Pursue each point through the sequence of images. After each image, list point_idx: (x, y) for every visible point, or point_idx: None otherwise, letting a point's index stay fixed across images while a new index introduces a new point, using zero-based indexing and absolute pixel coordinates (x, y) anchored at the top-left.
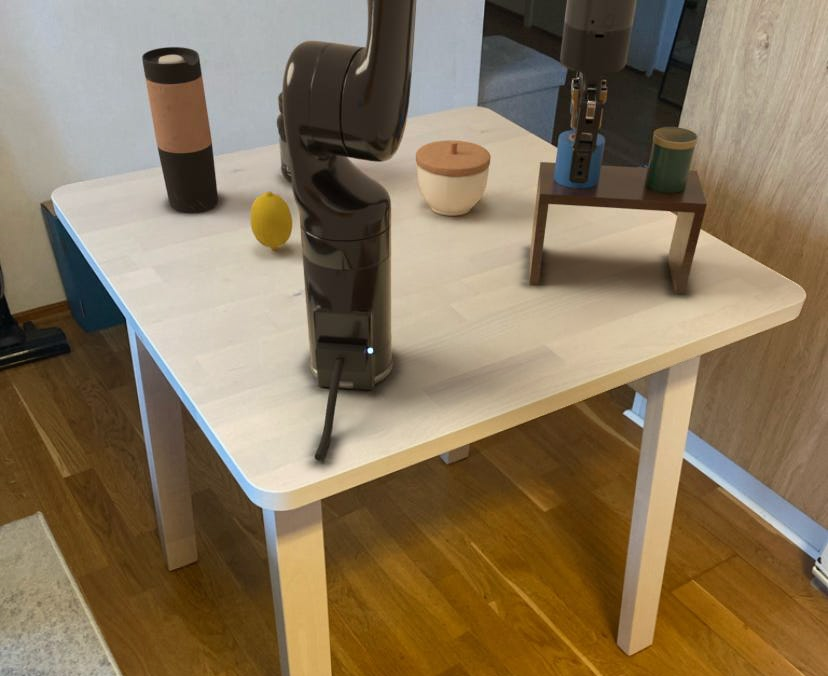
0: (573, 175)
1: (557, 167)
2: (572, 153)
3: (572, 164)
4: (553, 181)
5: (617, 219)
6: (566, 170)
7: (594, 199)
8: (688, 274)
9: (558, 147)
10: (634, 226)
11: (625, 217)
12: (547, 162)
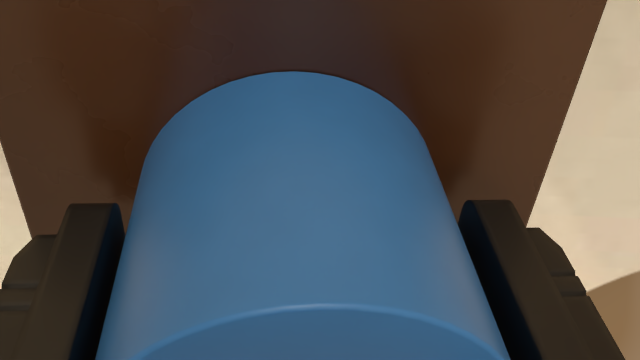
0: (25, 256)
1: (222, 142)
2: (58, 357)
3: (34, 299)
4: (230, 67)
5: (629, 164)
6: (138, 209)
7: None
8: None
9: (256, 242)
10: (572, 203)
11: (637, 184)
12: (588, 30)
